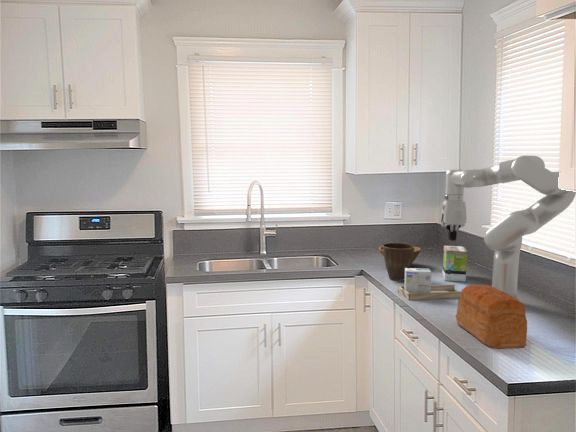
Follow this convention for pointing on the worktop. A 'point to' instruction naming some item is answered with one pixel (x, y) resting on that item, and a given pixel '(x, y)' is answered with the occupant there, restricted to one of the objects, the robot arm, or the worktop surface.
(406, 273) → the light bulb box
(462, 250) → the tea box
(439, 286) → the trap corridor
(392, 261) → the plant pot
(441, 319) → the worktop surface
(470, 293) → the bread
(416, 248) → the bowl
